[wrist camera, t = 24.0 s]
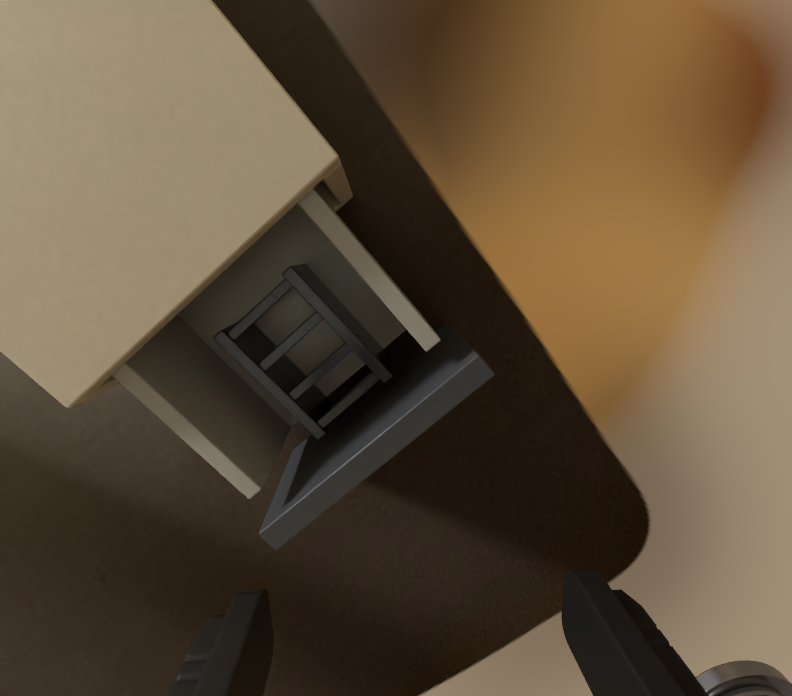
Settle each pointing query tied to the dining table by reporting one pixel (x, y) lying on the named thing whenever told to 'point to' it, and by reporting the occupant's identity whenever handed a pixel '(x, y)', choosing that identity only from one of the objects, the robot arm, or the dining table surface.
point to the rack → (271, 360)
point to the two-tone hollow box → (259, 411)
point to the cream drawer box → (133, 175)
